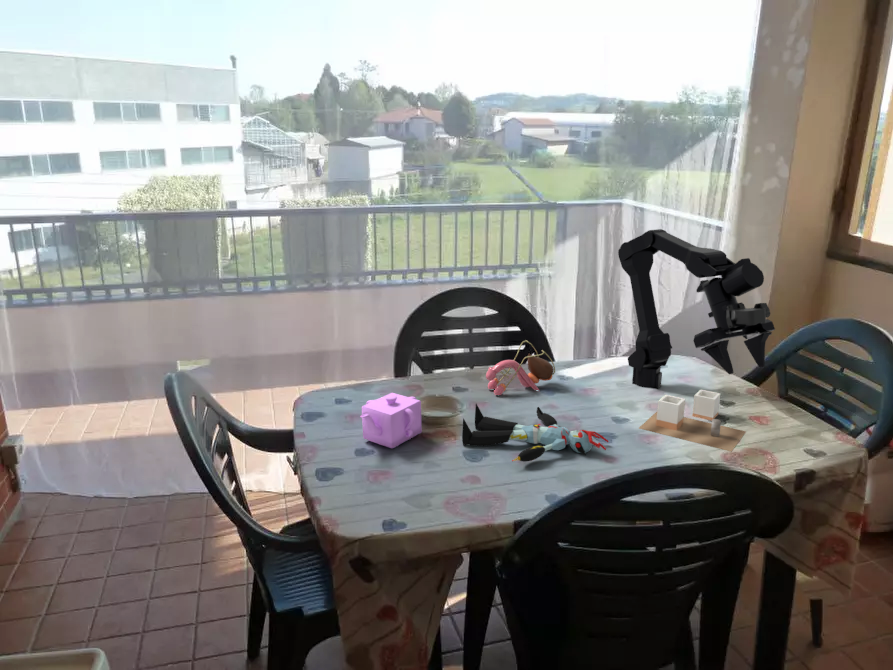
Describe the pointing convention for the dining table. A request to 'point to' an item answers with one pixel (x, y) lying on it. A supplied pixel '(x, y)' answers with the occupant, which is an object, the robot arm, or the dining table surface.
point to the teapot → (391, 419)
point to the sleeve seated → (670, 412)
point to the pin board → (699, 432)
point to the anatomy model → (521, 372)
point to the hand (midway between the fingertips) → (747, 370)
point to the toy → (528, 435)
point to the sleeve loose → (706, 404)
